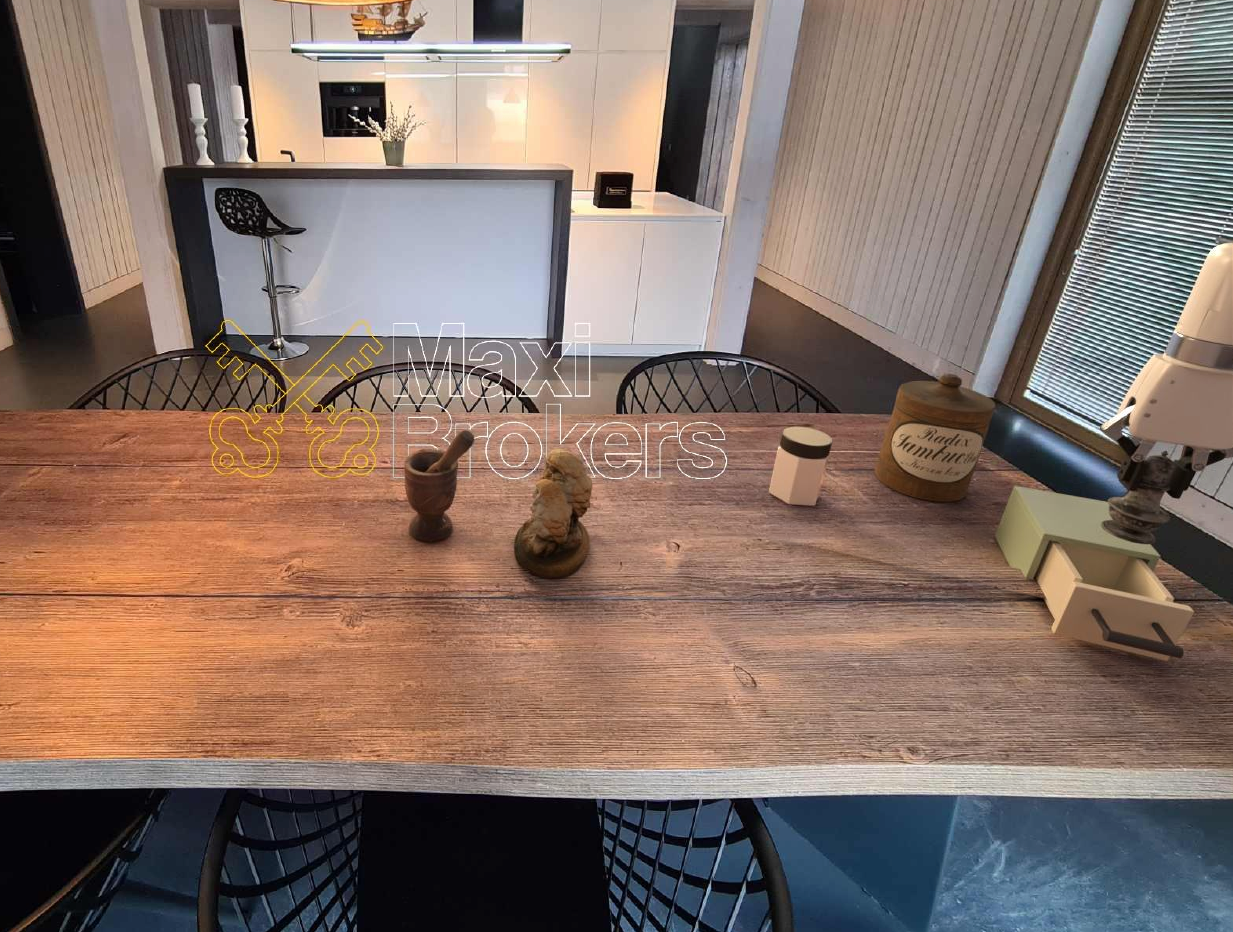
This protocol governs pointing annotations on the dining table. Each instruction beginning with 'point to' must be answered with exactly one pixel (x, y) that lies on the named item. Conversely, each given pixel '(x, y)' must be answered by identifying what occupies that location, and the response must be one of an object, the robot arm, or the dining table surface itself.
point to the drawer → (1110, 601)
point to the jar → (800, 465)
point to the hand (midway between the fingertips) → (1148, 488)
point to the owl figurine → (556, 519)
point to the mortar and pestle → (434, 487)
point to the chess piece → (1142, 504)
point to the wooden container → (934, 439)
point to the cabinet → (1058, 528)
